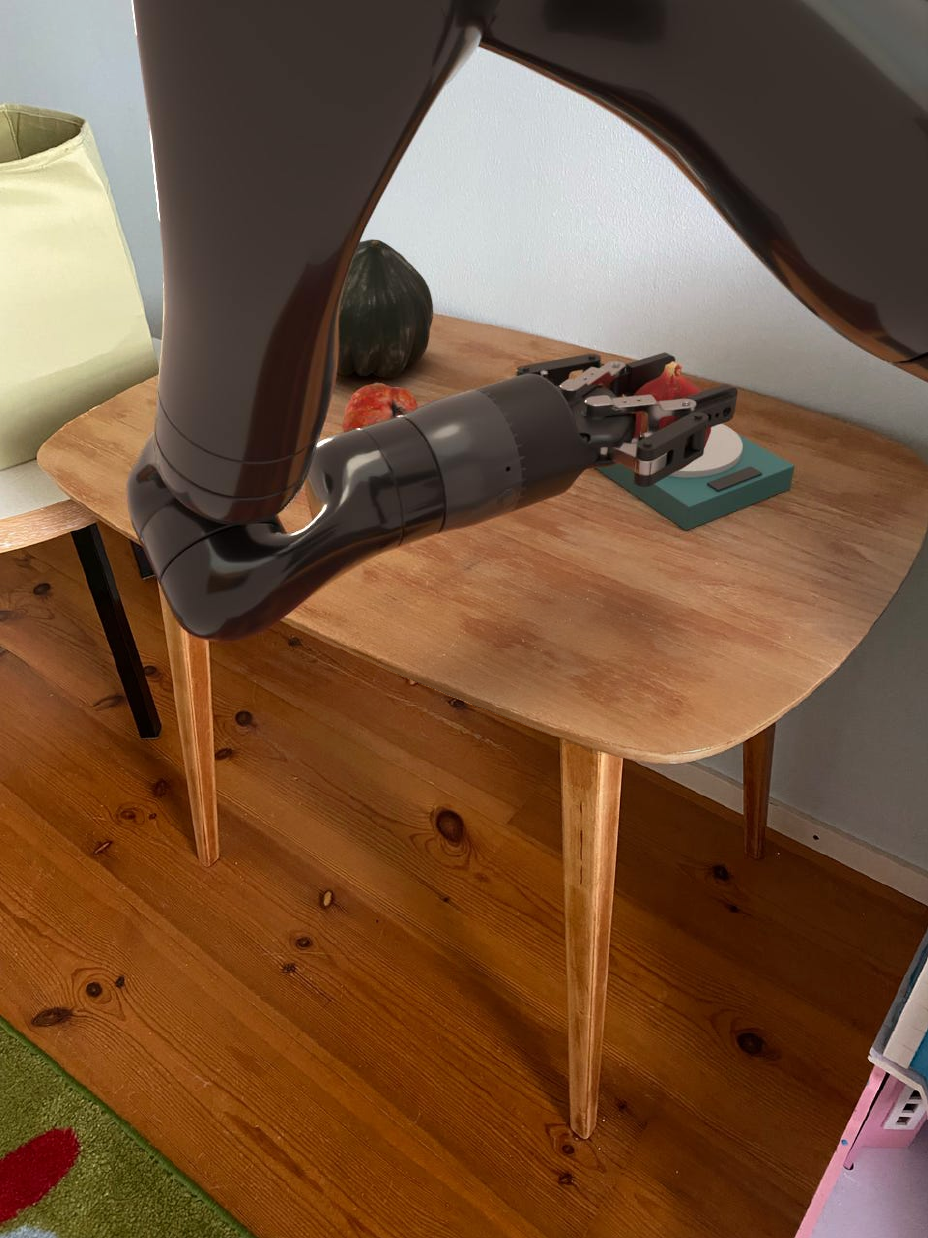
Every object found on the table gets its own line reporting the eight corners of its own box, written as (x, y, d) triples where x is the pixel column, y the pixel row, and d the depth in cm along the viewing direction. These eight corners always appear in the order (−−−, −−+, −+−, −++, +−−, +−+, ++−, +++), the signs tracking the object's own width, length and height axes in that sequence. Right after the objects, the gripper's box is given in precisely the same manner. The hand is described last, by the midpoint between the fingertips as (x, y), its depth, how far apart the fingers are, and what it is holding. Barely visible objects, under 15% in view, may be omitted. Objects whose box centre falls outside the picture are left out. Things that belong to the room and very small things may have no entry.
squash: (293, 292, 114) (285, 217, 99) (421, 285, 116) (432, 211, 101) (305, 408, 111) (299, 349, 97) (435, 399, 114) (449, 339, 99)
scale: (790, 489, 87) (796, 458, 85) (686, 531, 83) (690, 499, 81) (684, 427, 97) (688, 398, 95) (586, 462, 92) (587, 432, 90)
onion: (710, 497, 65) (728, 384, 60) (622, 498, 65) (633, 385, 60) (695, 453, 69) (710, 345, 64) (613, 454, 70) (622, 346, 65)
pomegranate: (338, 476, 96) (363, 456, 87) (325, 402, 96) (348, 374, 86) (410, 467, 98) (442, 447, 89) (398, 395, 98) (428, 367, 89)
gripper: (555, 446, 51) (792, 366, 57) (418, 353, 60) (635, 294, 67) (551, 565, 55) (771, 479, 62) (425, 461, 65) (627, 396, 72)
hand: (699, 383), depth 65 cm, fingers closed on onion, 5 cm apart
